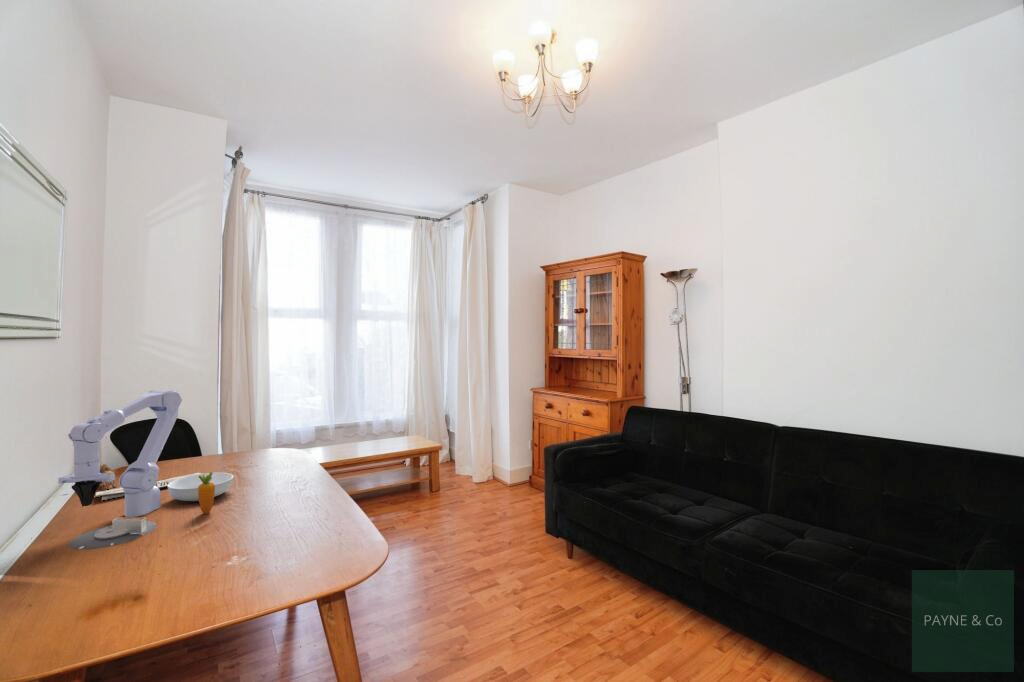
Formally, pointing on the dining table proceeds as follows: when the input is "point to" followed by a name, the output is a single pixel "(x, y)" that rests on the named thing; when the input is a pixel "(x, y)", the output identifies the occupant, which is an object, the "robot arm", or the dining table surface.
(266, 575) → the dining table surface
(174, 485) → the serving bowl
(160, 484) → the piano keyboard
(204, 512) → the carrot
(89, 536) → the dial plate
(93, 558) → the dining table surface
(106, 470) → the lion figurine
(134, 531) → the grey bar on dome
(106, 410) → the robot arm
